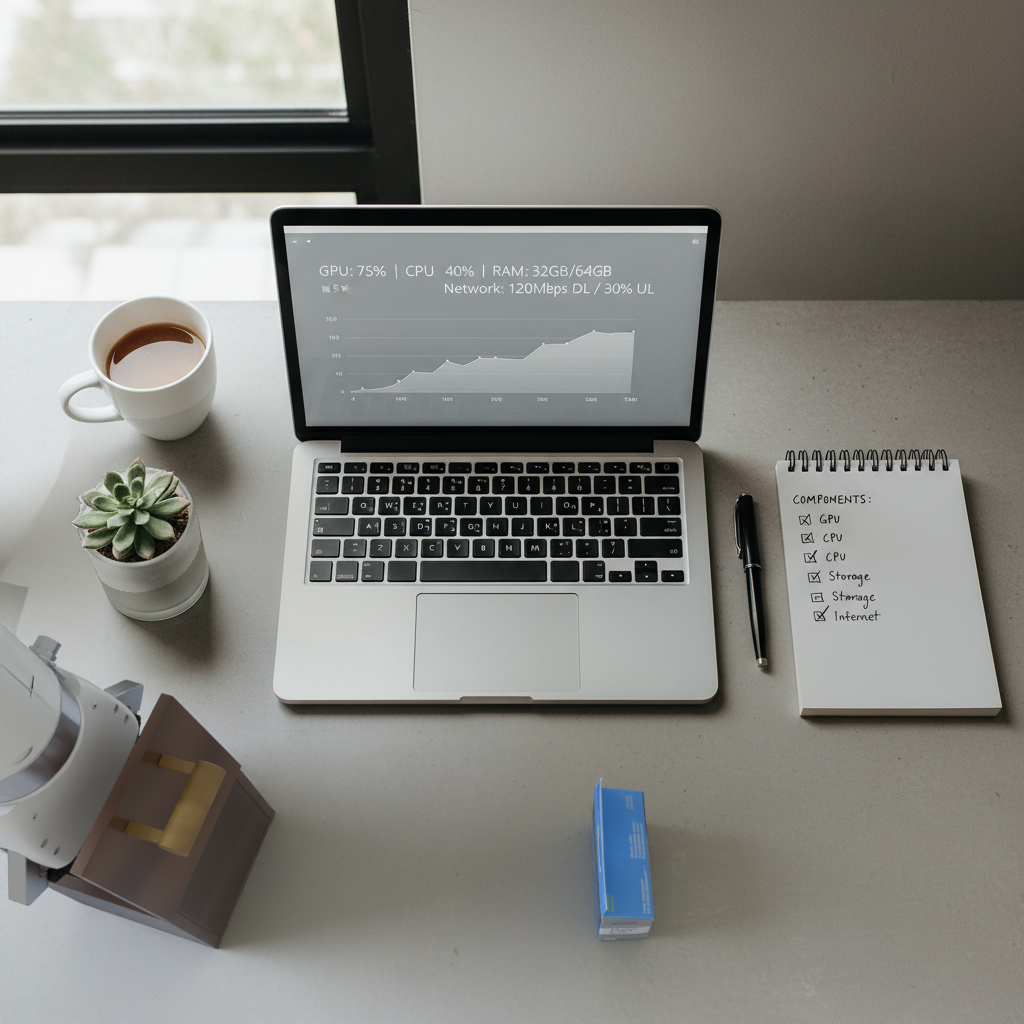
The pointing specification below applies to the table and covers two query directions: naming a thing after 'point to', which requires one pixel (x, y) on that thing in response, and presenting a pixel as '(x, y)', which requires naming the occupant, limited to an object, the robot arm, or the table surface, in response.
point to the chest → (200, 873)
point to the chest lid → (159, 812)
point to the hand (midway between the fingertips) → (119, 815)
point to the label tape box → (621, 864)
